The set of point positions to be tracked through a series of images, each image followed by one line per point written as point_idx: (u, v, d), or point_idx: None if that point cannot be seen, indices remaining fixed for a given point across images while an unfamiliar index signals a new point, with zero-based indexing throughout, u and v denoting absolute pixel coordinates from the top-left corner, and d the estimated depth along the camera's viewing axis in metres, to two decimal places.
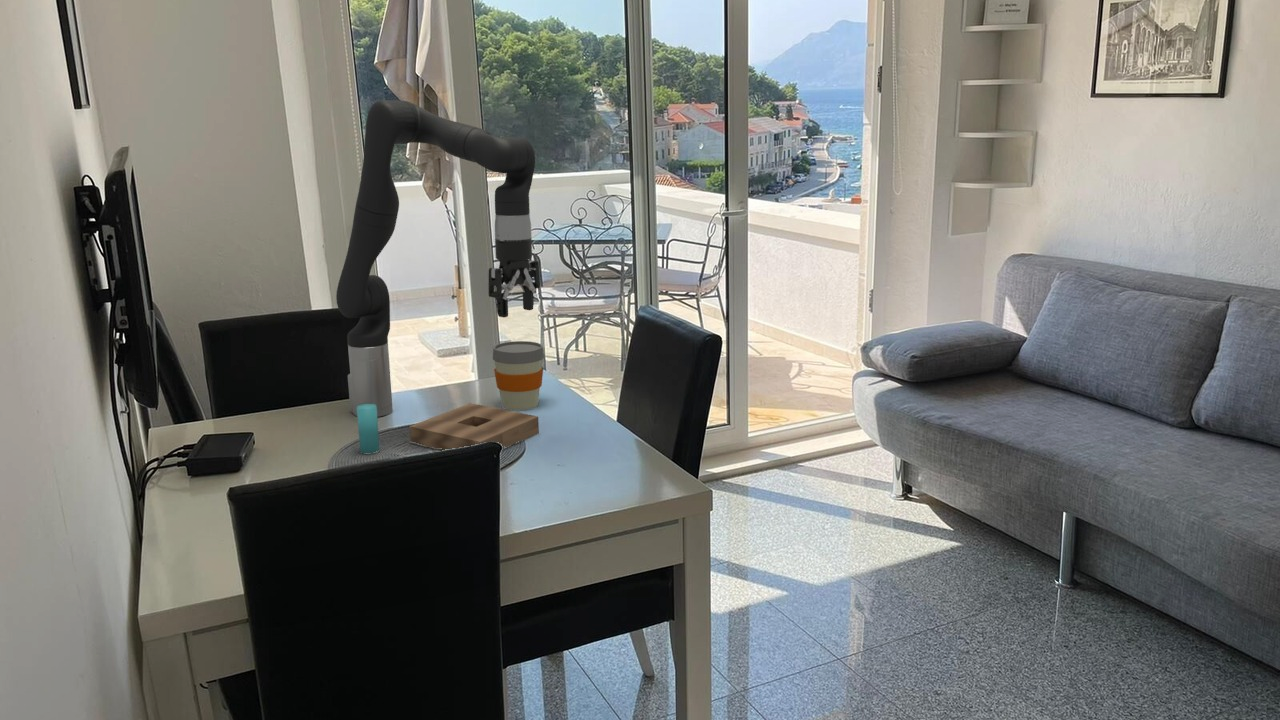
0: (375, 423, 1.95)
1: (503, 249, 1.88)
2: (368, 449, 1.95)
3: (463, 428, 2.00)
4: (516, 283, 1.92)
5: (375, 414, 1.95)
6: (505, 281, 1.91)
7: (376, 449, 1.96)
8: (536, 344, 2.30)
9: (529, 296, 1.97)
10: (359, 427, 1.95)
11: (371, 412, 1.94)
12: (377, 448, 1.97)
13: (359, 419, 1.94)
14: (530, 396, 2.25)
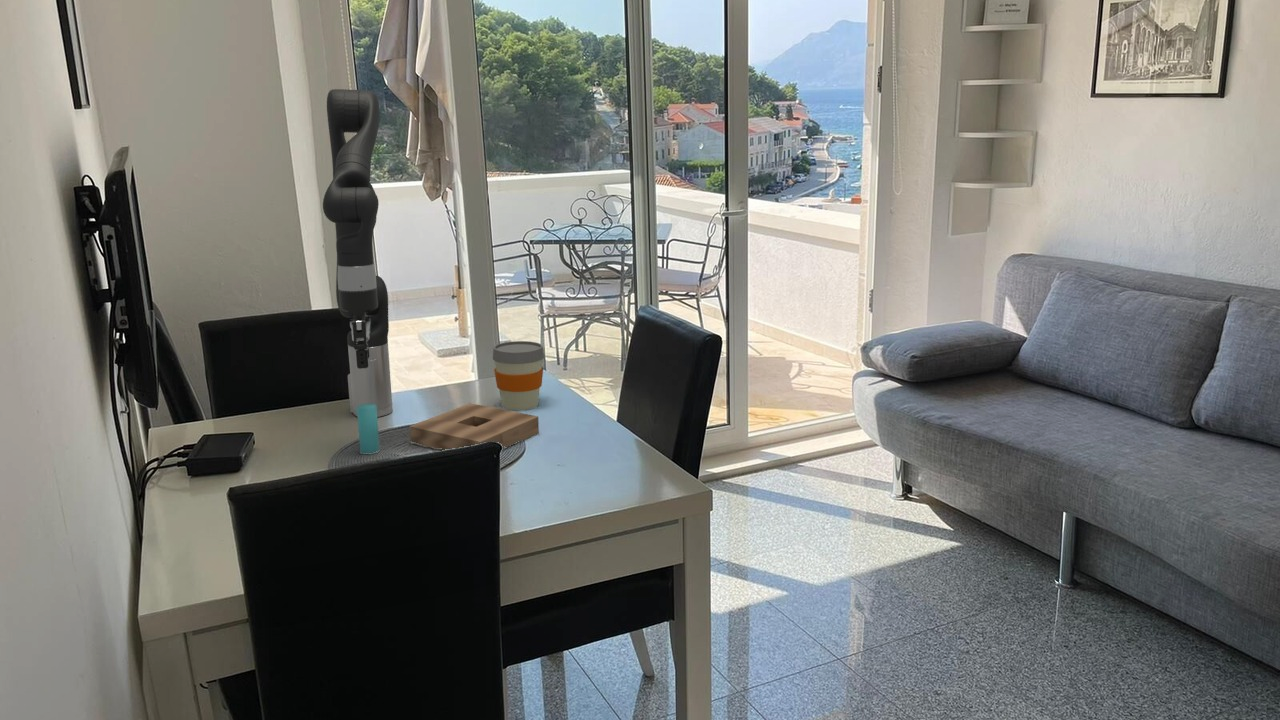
0: (375, 423, 1.95)
1: None
2: (368, 449, 1.95)
3: (463, 428, 2.00)
4: None
5: (375, 414, 1.95)
6: None
7: (376, 449, 1.96)
8: (536, 344, 2.30)
9: None
10: (359, 427, 1.95)
11: (371, 412, 1.94)
12: (377, 448, 1.97)
13: (359, 419, 1.94)
14: (530, 396, 2.25)
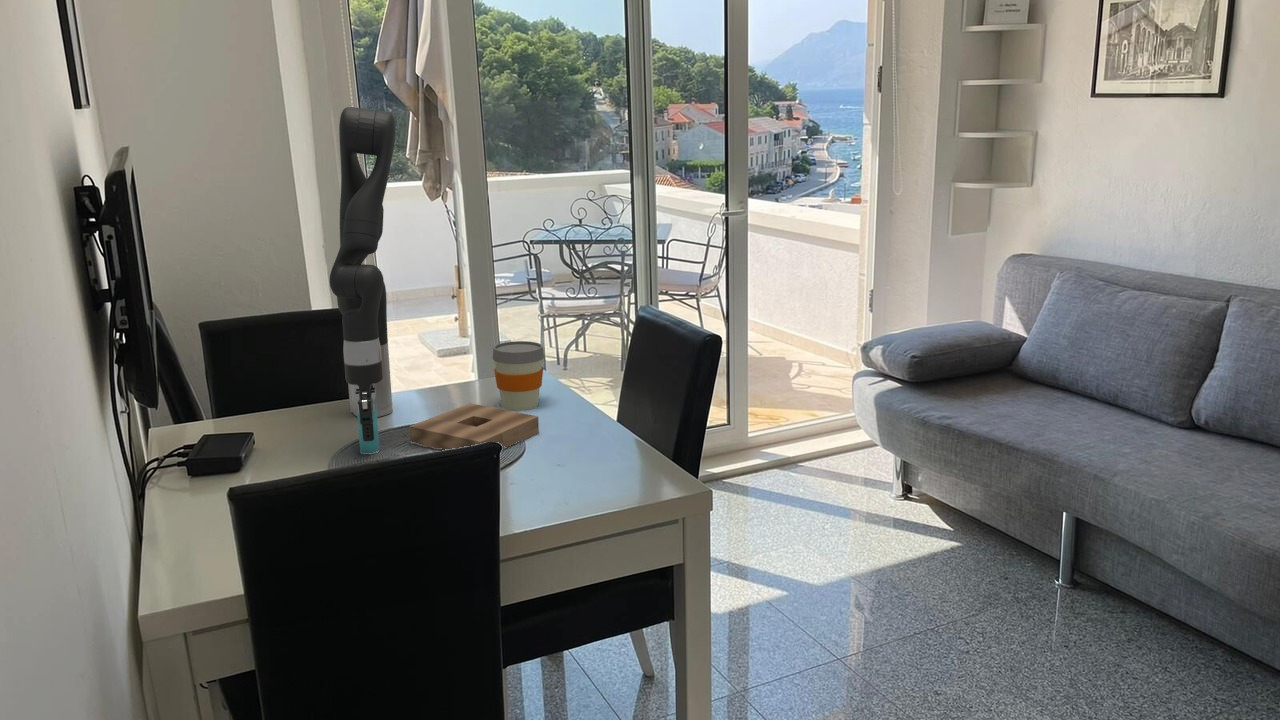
0: (375, 423, 1.95)
1: None
2: (368, 449, 1.95)
3: (463, 428, 2.00)
4: None
5: (375, 414, 1.95)
6: None
7: (376, 449, 1.96)
8: (536, 344, 2.30)
9: None
10: (359, 427, 1.95)
11: None
12: (377, 448, 1.97)
13: (359, 419, 1.94)
14: (530, 396, 2.25)
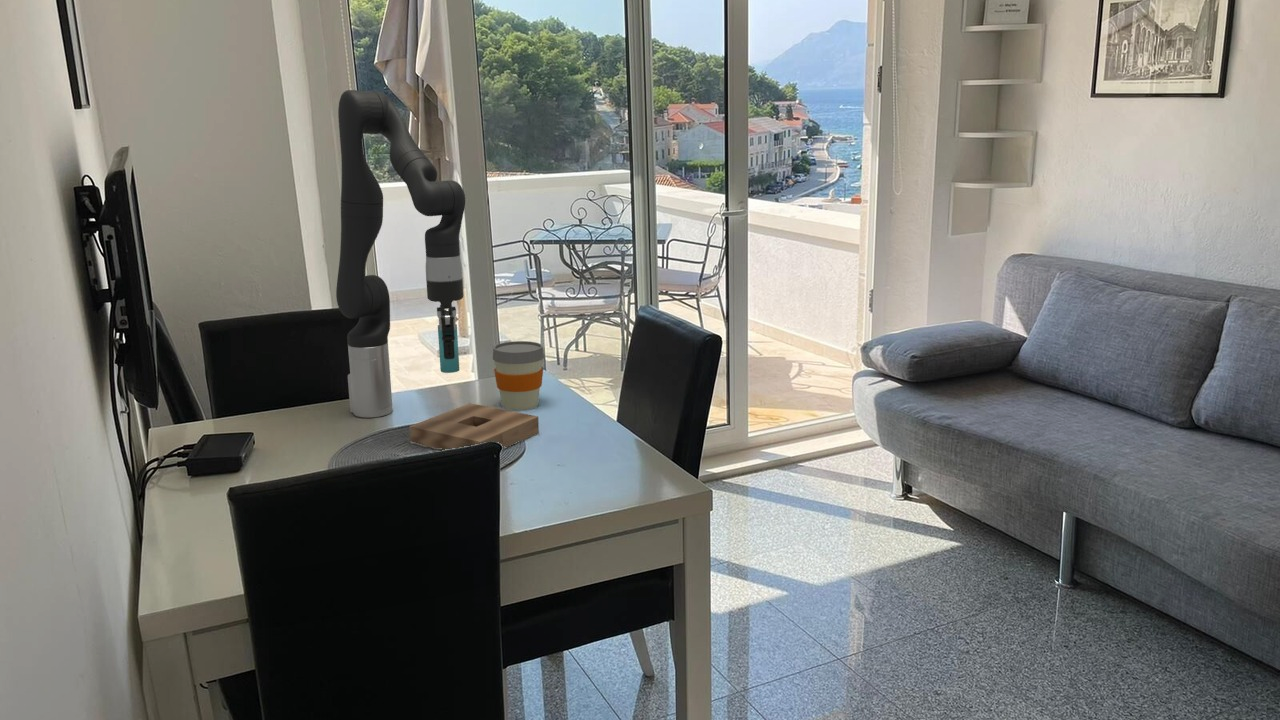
0: (456, 341, 1.97)
1: None
2: (449, 368, 1.97)
3: (463, 428, 2.00)
4: None
5: (456, 332, 1.97)
6: None
7: (456, 368, 1.98)
8: (536, 344, 2.30)
9: None
10: (440, 345, 1.97)
11: None
12: (457, 367, 1.98)
13: (440, 337, 1.96)
14: (530, 396, 2.25)
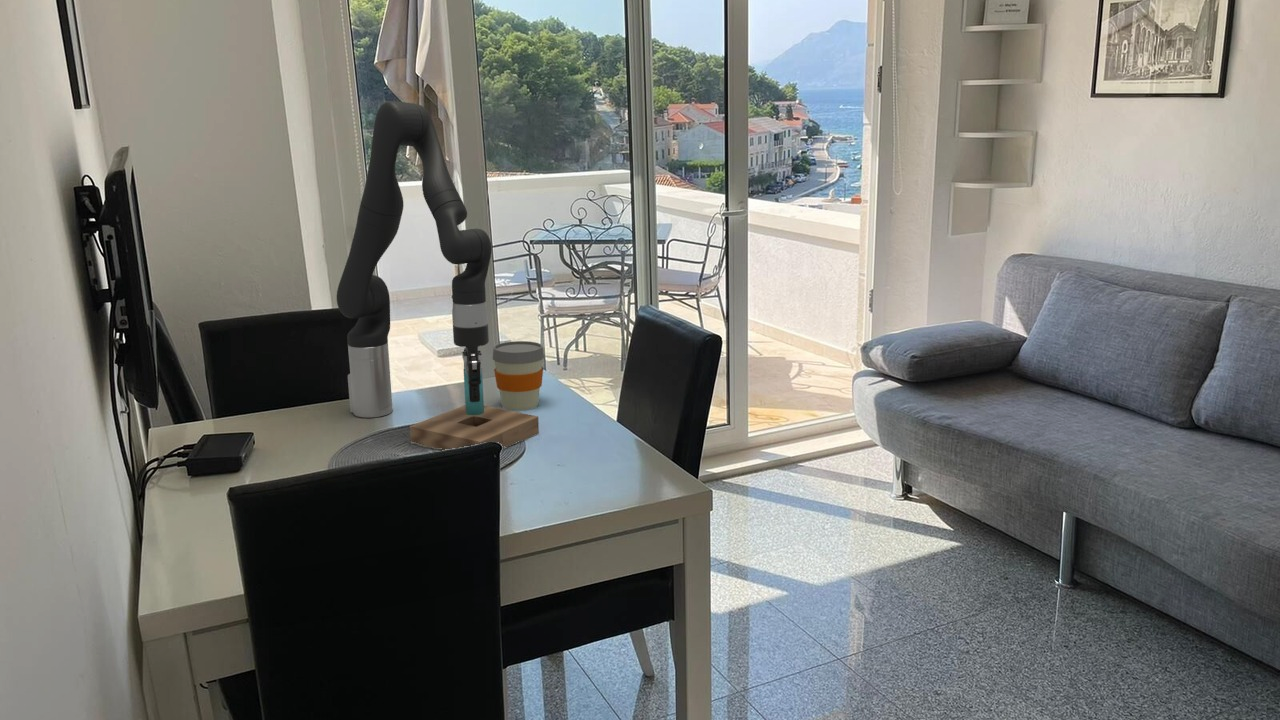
0: (481, 385, 2.02)
1: None
2: (475, 410, 2.02)
3: (463, 428, 2.00)
4: None
5: (481, 376, 2.02)
6: None
7: (481, 410, 2.03)
8: (536, 344, 2.30)
9: None
10: (466, 388, 2.01)
11: None
12: (482, 409, 2.03)
13: (466, 381, 2.01)
14: (530, 396, 2.25)
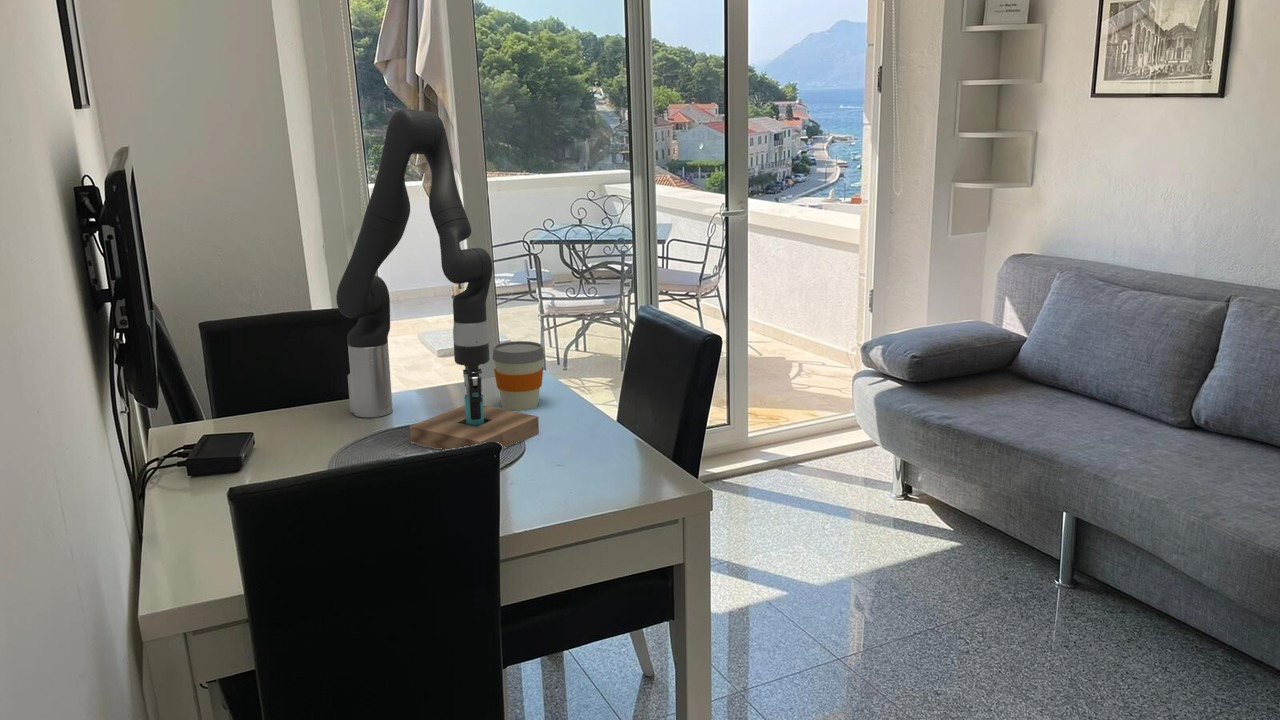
0: (482, 411, 2.03)
1: None
2: None
3: (463, 428, 2.00)
4: None
5: (482, 402, 2.03)
6: None
7: None
8: (536, 344, 2.30)
9: None
10: (467, 415, 2.03)
11: None
12: None
13: (467, 407, 2.02)
14: (530, 396, 2.25)
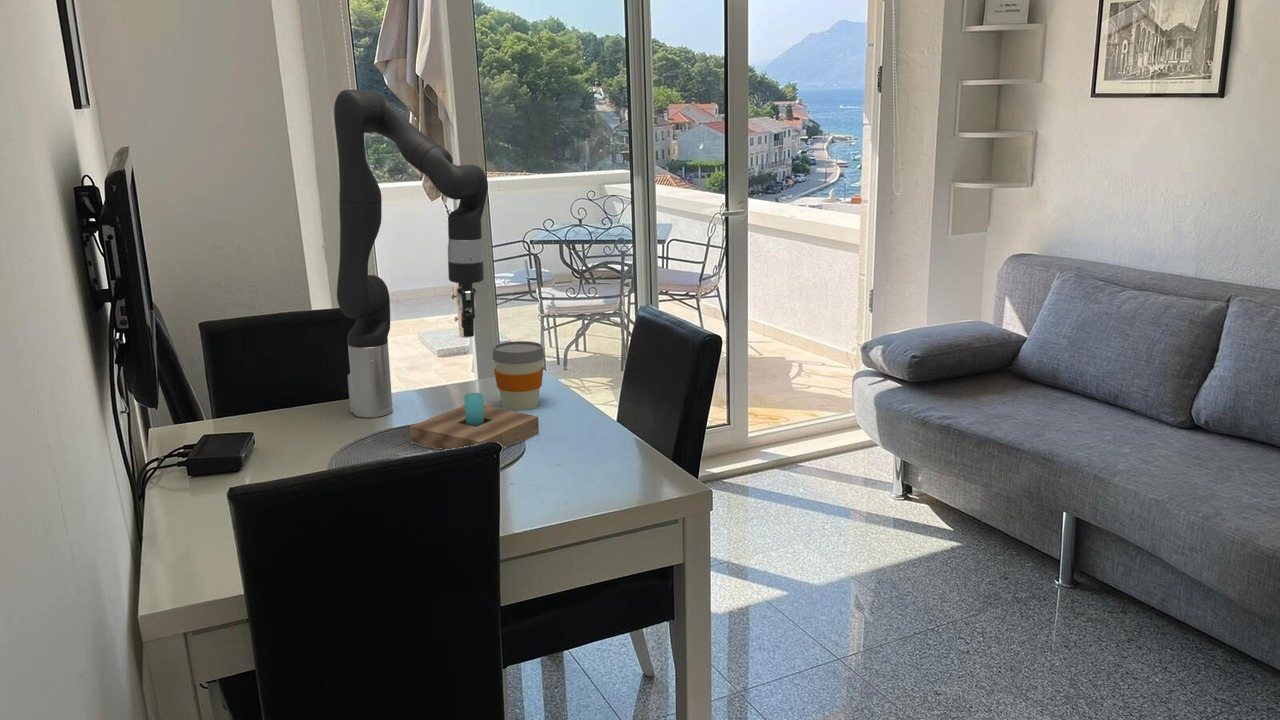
0: (482, 411, 2.03)
1: None
2: None
3: (463, 428, 2.00)
4: None
5: (482, 402, 2.03)
6: None
7: None
8: (536, 344, 2.30)
9: None
10: (467, 415, 2.03)
11: (479, 400, 2.02)
12: None
13: (467, 407, 2.02)
14: (530, 396, 2.25)
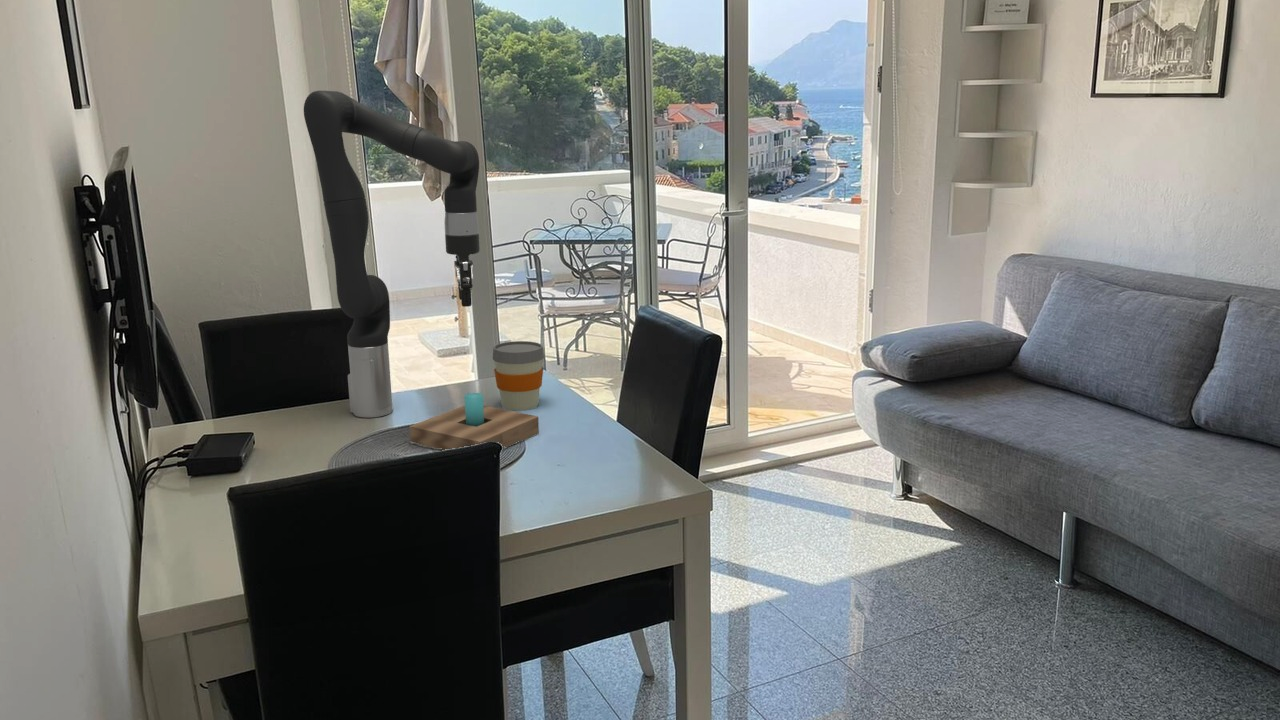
0: (482, 411, 2.03)
1: None
2: None
3: (463, 428, 2.00)
4: None
5: (482, 402, 2.03)
6: None
7: None
8: (536, 344, 2.30)
9: None
10: (467, 415, 2.03)
11: (479, 400, 2.02)
12: None
13: (467, 407, 2.02)
14: (530, 396, 2.25)
